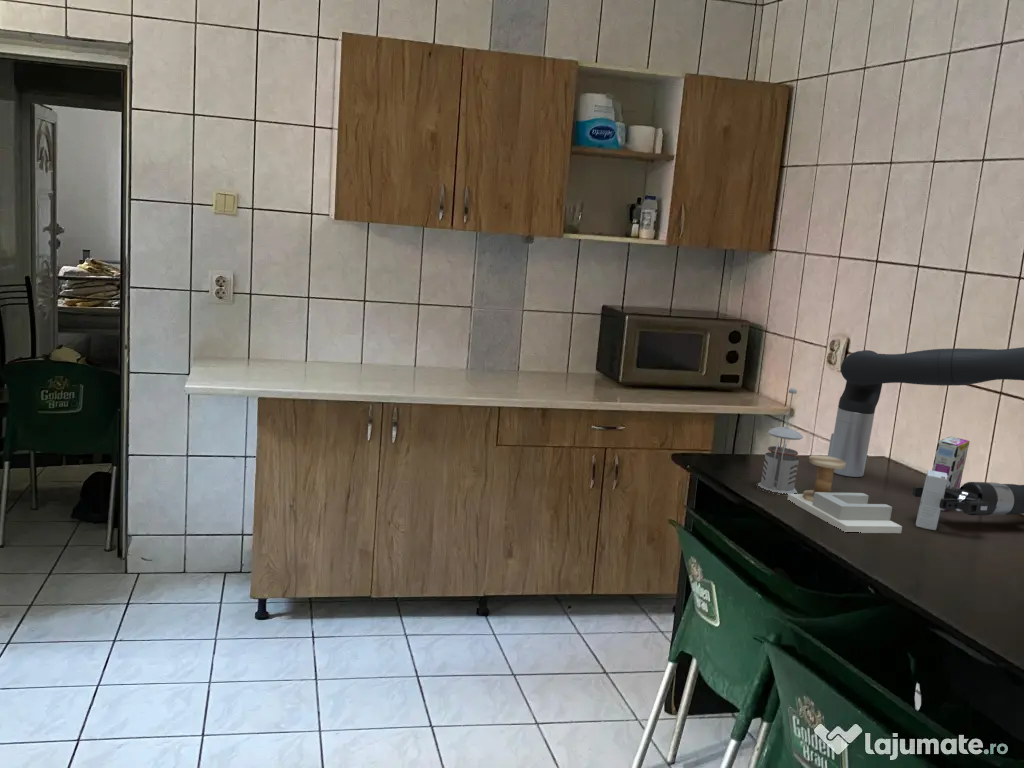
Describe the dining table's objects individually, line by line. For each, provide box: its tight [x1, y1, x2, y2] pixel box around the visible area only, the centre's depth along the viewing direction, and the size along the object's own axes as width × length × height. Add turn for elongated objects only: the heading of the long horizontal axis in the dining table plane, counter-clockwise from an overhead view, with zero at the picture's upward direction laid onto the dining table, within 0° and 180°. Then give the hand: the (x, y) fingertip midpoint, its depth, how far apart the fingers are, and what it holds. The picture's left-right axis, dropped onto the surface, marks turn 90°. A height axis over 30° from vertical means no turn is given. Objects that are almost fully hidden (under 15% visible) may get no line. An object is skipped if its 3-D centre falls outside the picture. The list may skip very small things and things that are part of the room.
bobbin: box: [802, 454, 846, 502], centre depth 212 cm, size 8×8×10 cm
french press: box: [757, 387, 804, 494], centre depth 221 cm, size 10×12×25 cm
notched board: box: [787, 491, 903, 534], centre depth 206 cm, size 22×14×4 cm, turn 16°
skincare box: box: [915, 469, 948, 531], centre depth 205 cm, size 6×4×12 cm
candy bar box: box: [931, 436, 970, 512], centre depth 224 cm, size 11×5×16 cm, turn 141°
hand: (927, 497), depth 204 cm, fingers open, 8 cm apart
